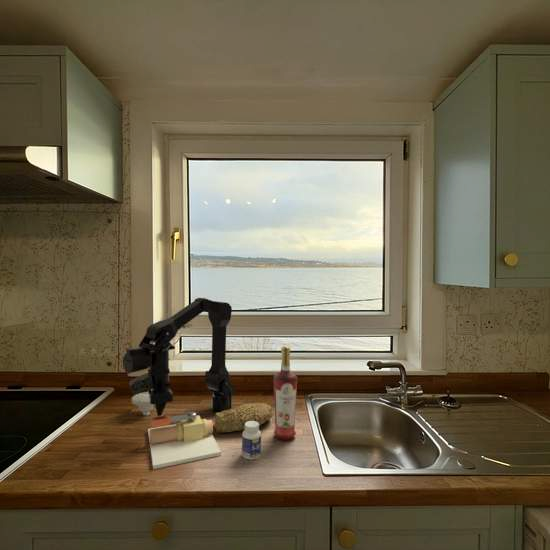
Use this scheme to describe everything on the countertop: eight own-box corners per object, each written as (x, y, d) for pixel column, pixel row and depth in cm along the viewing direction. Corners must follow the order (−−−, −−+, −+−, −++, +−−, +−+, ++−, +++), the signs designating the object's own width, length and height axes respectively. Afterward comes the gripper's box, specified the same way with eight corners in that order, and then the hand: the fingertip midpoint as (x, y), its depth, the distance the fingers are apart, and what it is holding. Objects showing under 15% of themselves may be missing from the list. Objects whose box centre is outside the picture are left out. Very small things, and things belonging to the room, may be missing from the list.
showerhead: (125, 398, 121) (139, 388, 131) (125, 419, 121) (139, 408, 131) (152, 400, 120) (164, 389, 130) (152, 421, 120) (164, 409, 130)
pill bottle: (253, 462, 96) (253, 429, 96) (238, 456, 99) (238, 425, 99) (264, 453, 101) (264, 422, 100) (249, 448, 103) (249, 418, 103)
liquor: (274, 443, 106) (275, 350, 105) (271, 431, 113) (272, 344, 112) (298, 441, 107) (299, 349, 106) (294, 430, 115) (294, 344, 114)
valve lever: (195, 417, 110) (195, 410, 110) (197, 420, 107) (196, 413, 107) (151, 423, 105) (151, 417, 105) (152, 427, 102) (152, 420, 102)
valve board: (204, 422, 120) (204, 405, 120) (220, 455, 99) (221, 434, 99) (148, 431, 113) (148, 413, 113) (153, 469, 92) (153, 447, 92)
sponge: (217, 442, 109) (280, 424, 112) (212, 416, 110) (274, 399, 113) (218, 430, 122) (274, 414, 125) (213, 407, 123) (269, 392, 126)
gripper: (130, 360, 115) (130, 407, 115) (131, 377, 98) (131, 433, 98) (166, 357, 119) (166, 402, 120) (173, 373, 102) (173, 426, 103)
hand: (159, 415), depth 110 cm, fingers closed
